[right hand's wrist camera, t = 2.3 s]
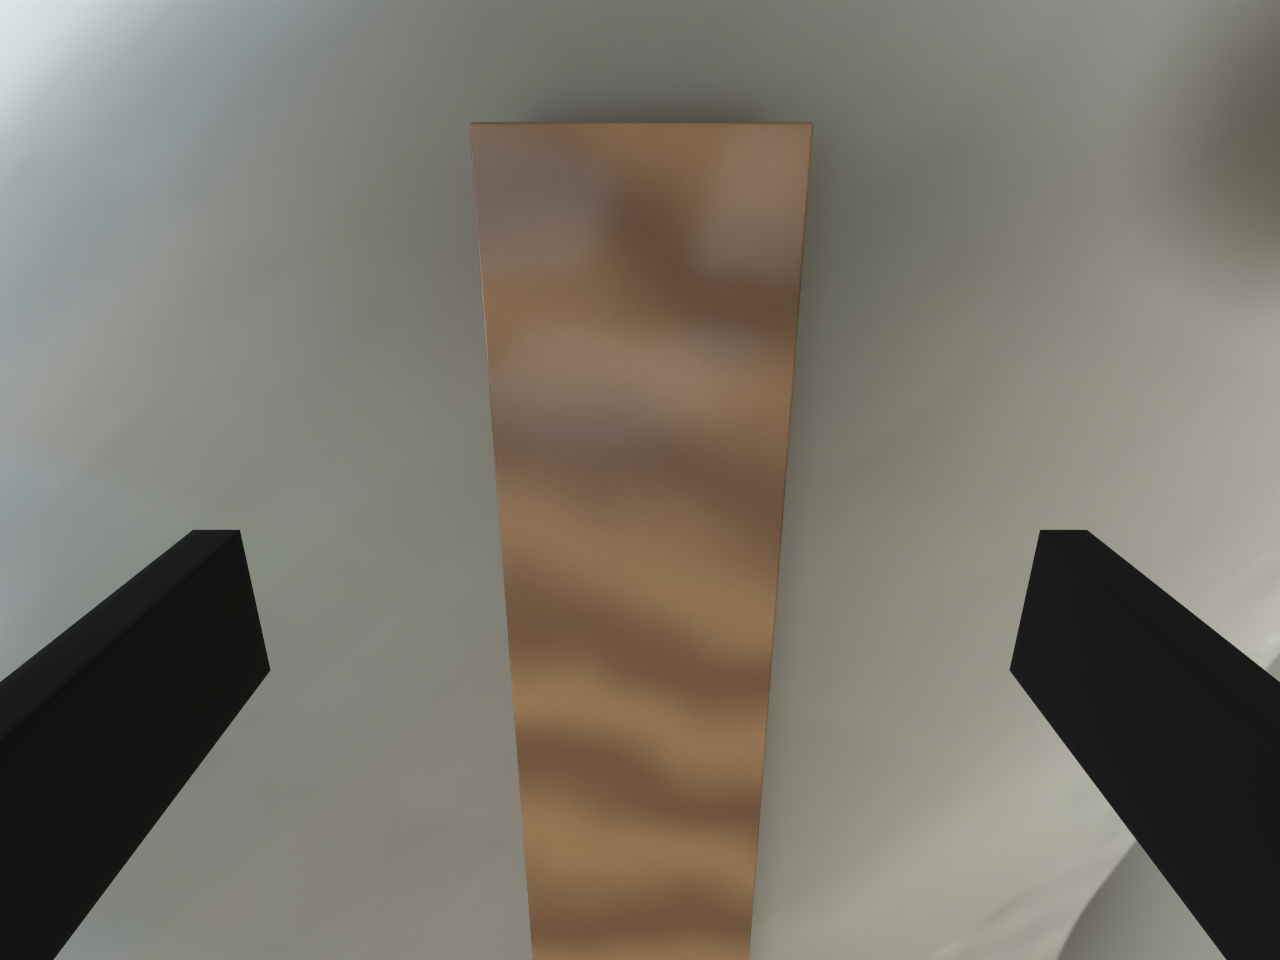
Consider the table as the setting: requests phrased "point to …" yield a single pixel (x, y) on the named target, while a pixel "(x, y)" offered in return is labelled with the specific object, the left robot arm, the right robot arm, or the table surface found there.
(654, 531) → the slab
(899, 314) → the table surface
